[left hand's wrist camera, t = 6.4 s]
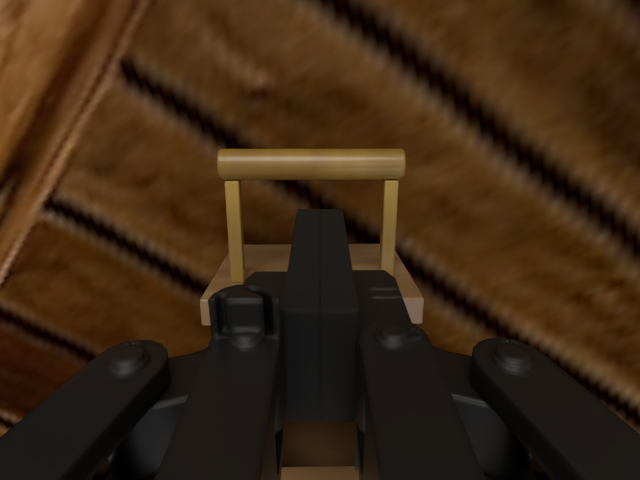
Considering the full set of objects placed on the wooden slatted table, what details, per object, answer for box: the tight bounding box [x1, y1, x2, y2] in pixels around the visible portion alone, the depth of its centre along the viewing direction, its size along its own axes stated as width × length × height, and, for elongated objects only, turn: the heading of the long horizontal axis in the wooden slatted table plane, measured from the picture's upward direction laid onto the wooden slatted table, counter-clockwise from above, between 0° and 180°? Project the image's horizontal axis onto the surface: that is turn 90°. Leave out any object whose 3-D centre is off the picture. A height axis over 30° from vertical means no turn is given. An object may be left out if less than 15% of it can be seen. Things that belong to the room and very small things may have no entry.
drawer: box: [200, 149, 424, 467], centre depth 23 cm, size 23×9×8 cm, turn 0°
